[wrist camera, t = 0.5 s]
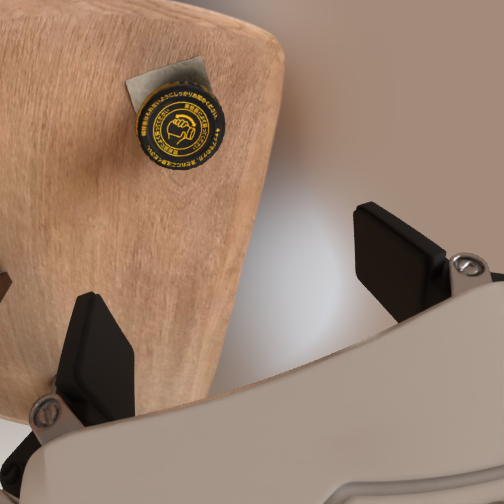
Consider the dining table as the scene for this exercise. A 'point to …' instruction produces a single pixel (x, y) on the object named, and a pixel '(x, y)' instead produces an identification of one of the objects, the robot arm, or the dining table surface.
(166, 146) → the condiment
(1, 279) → the shelf
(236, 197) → the dining table surface
